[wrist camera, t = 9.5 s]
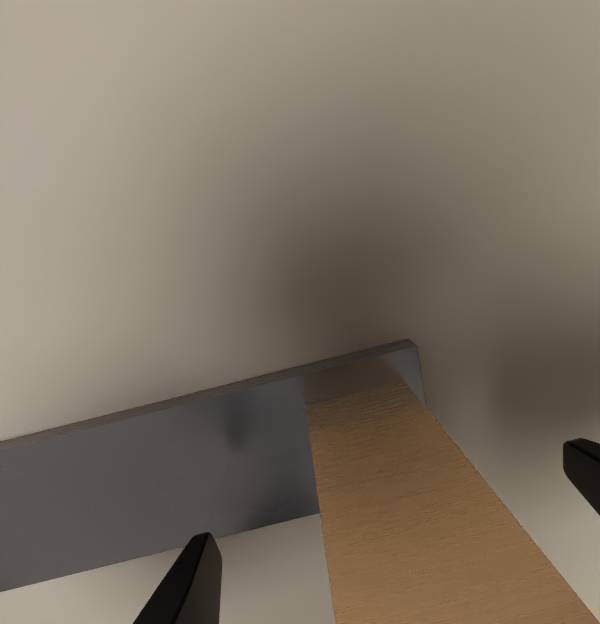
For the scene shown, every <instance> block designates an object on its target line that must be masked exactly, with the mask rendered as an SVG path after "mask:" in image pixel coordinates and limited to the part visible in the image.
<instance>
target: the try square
mask: <svg viewBox="0 0 600 624" xmlns="http://www.w3.org/2000/svg"><path fill="white" fill-rule="evenodd" d="M316 513H320V515H321V522H322V529H323V536H324V544H325V551H326V558H327V565H328V572H329V580H330V587H331V594H332V601H333V608H334V616H335V623H336V624H600V623H599V621H598V620H597V619H596V618H595V617H594V615H593V614H592V613H591V612H590V610H589V609H588V608H587V607H586V605H585V604H584V603H583V602H582V600H581V599H580V598H579V597H578V595H577V594H576V593H575V592H574V590H573V589H572V588H571V587H570V585H569V584H568V583H567V582H566V581H565V579H564V578H563V577H562V576H561V574H560V573H559V572H558V571H557V569H556V568H555V567H554V566H553V564H552V563H551V562H550V561H549V559H548V558H547V557H546V556H545V554H544V553H543V552H542V551H541V549H540V548H539V547H538V546H537V545H536V543H535V542H534V541H533V540H532V538H531V537H530V536H529V535H528V533H527V532H526V531H525V530H524V528H523V527H522V526H521V525H520V523H519V522H518V521H517V520H516V518H515V517H514V516H513V515H512V513H511V512H510V511H509V510H508V509H507V507H506V506H505V505H504V504H503V502H502V501H501V500H500V499H499V497H498V496H497V495H496V494H495V492H494V491H493V490H492V489H491V487H490V486H489V485H488V484H487V482H486V481H485V480H484V479H483V477H482V476H481V475H480V474H479V473H478V471H477V470H476V469H475V468H474V466H473V465H472V464H471V463H470V461H469V460H468V459H467V458H466V456H465V455H464V454H463V453H462V451H461V450H460V449H459V448H458V446H457V445H456V444H455V443H454V441H453V440H452V439H451V438H450V437H449V435H448V434H447V433H446V432H445V430H444V429H443V428H442V427H441V425H440V424H439V423H438V422H437V420H436V419H435V418H434V417H433V415H432V414H431V413H430V412H429V410H428V409H427V408H426V404H425V397H424V390H423V383H422V376H421V370H420V363H419V356H418V349H417V346H416V345H415V344H414V343H413V342H412V341H411V340H409V339H405V340H401V341H397V342H393V343H389V344H385V345H381V346H377V347H374V348H370V349H366V350H362V351H358V352H354V353H350V354H346V355H342V356H338V357H334V358H330V359H326V360H322V361H318V362H314V363H310V364H306V365H302V366H298V367H294V368H290V369H286V370H282V371H278V372H274V373H271V374H267V375H263V376H259V377H255V378H251V379H247V380H243V381H239V382H235V383H231V384H227V385H223V386H219V387H215V388H211V389H207V390H203V391H199V392H195V393H191V394H187V395H183V396H179V397H175V398H171V399H168V400H164V401H160V402H156V403H152V404H148V405H144V406H140V407H136V408H132V409H128V410H124V411H120V412H116V413H112V414H108V415H104V416H100V417H96V418H92V419H88V420H84V421H80V422H76V423H72V424H68V425H64V426H61V427H57V428H53V429H49V430H45V431H41V432H37V433H33V434H29V435H25V436H21V437H17V438H13V439H9V440H5V441H1V442H0V592H3V591H7V590H11V589H15V588H19V587H23V586H27V585H31V584H35V583H39V582H43V581H47V580H51V579H55V578H59V577H63V576H67V575H71V574H75V573H79V572H83V571H87V570H91V569H95V568H99V567H103V566H107V565H111V564H115V563H119V562H123V561H127V560H131V559H135V558H139V557H143V556H147V555H151V554H155V553H159V552H163V551H167V550H171V549H175V548H180V547H184V546H186V545H187V544H188V542H189V541H190V539H191V538H192V537H193V536H194V535H196V534H200V533H204V532H210V533H211V534H212V535H213V537H214V539H216V538H220V537H224V536H228V535H232V534H236V533H240V532H244V531H248V530H252V529H256V528H260V527H264V526H268V525H272V524H276V523H280V522H284V521H288V520H292V519H296V518H300V517H304V516H308V515H312V514H316Z"/></svg>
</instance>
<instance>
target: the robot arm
mask: <svg viewBox="0 0 600 624" xmlns="http://www.w3.org/2000/svg"><path fill="white" fill-rule="evenodd" d="M563 469H564V472H565V474H566V476H567V477H568V479H569V480H570V481H571V482H572V483H573V485H574V486H575V487H576V488H577V489H578V491H579V492H580V493H581V494H582V495H583V496H584V498H585V499H586V500H587V501H588V502H589V504H590V505H591V506H592V507H593V508H594V509H595V511H596V512H597V513H598V514H599V515H600V444H599V443H596V442H593V441H590V440H588V439H584V438H578V439H574V440H570V441H566V442H565V443H564V444H563ZM221 576H222V558H221V554H220V551H219V549H218V547H217V544H216V542H215V540H214V537H213V535H212V534H211V533H210V532H204V533H200V534H196V535H194V536H193V537H192V538H191V539H190V541H189V542H188V544H187V545H186V547H185V548H184V550H183V551H182V552H181V554H180V555H179V557H178V558H177V560H176V561H175V563H174V564H173V566H172V567H171V569H170V570H169V571H168V573H167V574H166V576H165V577H164V579H163V580H162V582H161V583H160V585H159V586H158V587H157V589H156V590H155V592H154V593H153V595H152V596H151V598H150V599H149V601H148V602H147V604H146V605H145V606H144V608H143V609H142V611H141V612H140V614H139V615H138V617H137V618H136V620H135V621H134V622H133V624H219V613H220V595H221Z"/></svg>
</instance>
